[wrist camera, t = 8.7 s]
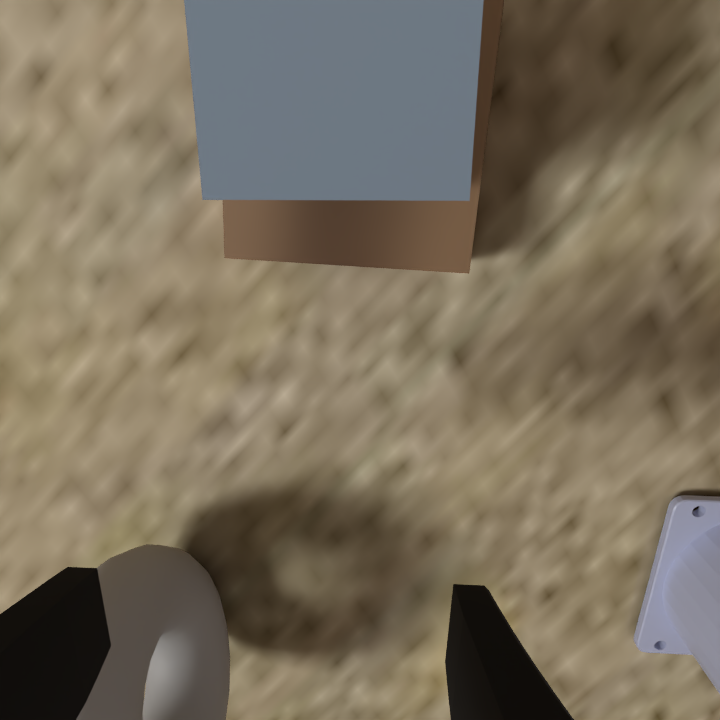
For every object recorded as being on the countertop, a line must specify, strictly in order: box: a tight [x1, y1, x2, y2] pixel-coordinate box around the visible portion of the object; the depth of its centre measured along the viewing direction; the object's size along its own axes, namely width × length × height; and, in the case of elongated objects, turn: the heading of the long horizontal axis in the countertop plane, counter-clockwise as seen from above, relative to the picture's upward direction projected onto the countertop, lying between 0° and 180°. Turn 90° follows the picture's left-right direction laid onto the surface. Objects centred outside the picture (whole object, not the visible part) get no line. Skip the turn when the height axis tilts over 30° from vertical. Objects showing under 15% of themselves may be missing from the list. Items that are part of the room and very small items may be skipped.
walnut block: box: [223, 0, 504, 273], centre depth 15 cm, size 8×8×3 cm
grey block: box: [184, 0, 484, 201], centre depth 11 cm, size 5×5×6 cm
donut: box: [76, 544, 230, 720], centre depth 18 cm, size 10×4×10 cm, turn 11°
